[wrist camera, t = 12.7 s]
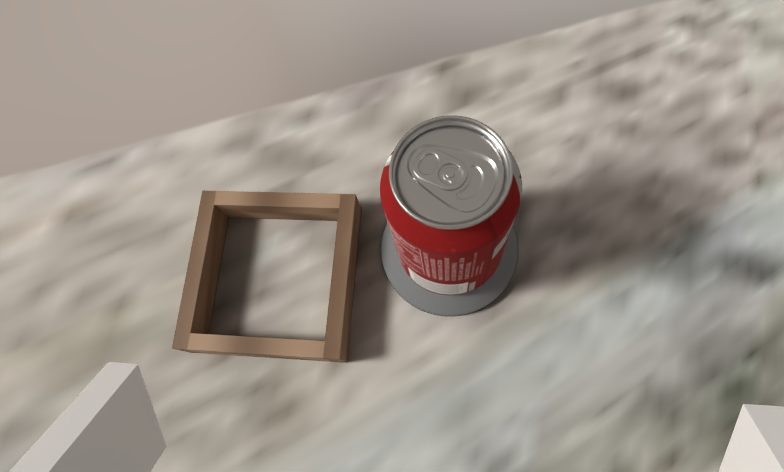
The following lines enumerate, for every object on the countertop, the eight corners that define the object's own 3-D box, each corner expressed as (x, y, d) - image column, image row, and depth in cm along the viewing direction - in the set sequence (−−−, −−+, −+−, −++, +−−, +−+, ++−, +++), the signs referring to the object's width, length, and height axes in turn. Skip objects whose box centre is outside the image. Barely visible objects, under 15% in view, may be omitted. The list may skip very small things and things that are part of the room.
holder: (361, 208, 37) (355, 194, 34) (347, 362, 34) (339, 359, 31) (217, 204, 38) (202, 190, 36) (190, 352, 35) (171, 348, 32)
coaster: (516, 189, 36) (517, 185, 35) (517, 319, 33) (518, 318, 33) (387, 186, 37) (386, 183, 37) (377, 312, 34) (376, 311, 34)
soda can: (472, 316, 33) (485, 269, 22) (380, 268, 35) (347, 200, 23) (519, 226, 35) (553, 138, 23) (428, 184, 36) (419, 82, 25)
